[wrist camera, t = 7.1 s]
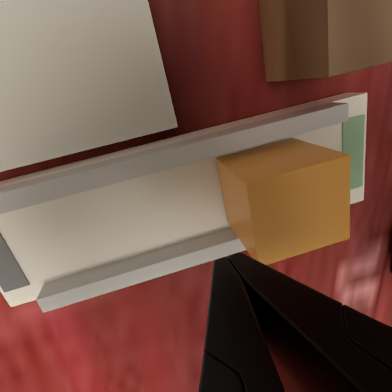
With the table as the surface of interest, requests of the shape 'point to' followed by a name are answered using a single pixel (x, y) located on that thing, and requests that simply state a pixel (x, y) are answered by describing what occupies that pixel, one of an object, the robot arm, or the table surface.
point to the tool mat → (78, 77)
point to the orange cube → (286, 198)
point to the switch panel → (148, 205)
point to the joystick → (323, 37)
